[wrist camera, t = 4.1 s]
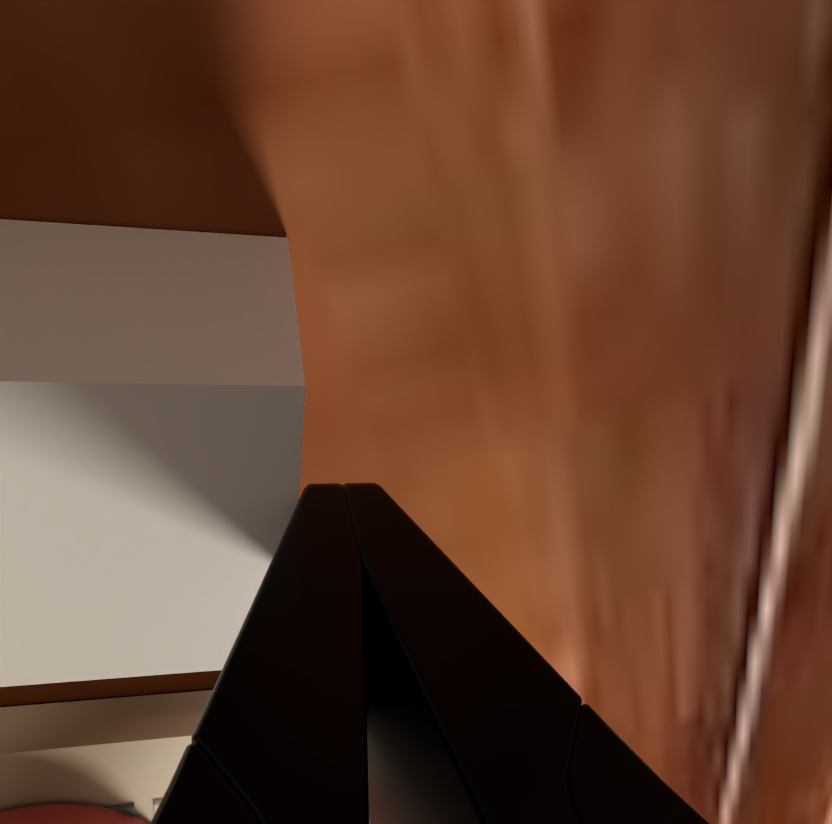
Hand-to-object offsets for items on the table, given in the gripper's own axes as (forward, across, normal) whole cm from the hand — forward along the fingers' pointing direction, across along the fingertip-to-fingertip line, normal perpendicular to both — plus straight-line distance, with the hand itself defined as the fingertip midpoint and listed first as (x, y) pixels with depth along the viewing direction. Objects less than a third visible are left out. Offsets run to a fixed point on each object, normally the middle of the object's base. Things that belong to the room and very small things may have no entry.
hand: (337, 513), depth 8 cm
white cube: (+4, +2, 0) cm, 4 cm away
